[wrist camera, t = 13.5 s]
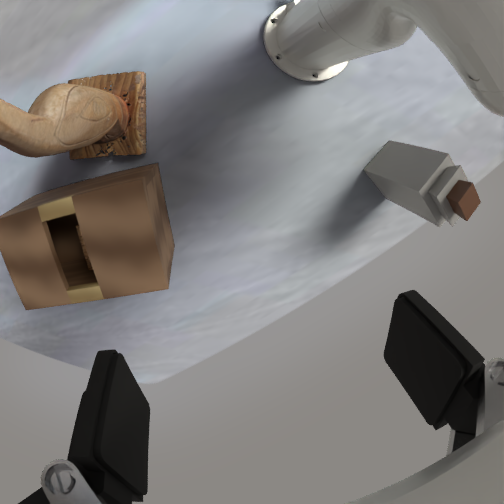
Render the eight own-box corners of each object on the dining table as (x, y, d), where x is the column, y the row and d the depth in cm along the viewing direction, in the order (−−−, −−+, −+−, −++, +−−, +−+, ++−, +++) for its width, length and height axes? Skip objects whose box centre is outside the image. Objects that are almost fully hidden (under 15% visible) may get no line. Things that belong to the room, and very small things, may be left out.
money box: (34, 195, 35) (-9, 222, 24) (158, 162, 37) (142, 179, 26) (57, 267, 40) (25, 310, 29) (174, 245, 42) (168, 288, 32)
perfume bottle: (410, 170, 44) (491, 201, 28) (385, 198, 45) (463, 241, 29) (389, 140, 41) (474, 161, 25) (363, 169, 42) (444, 203, 26)
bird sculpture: (74, 163, 35) (-97, 284, 7) (68, 82, 30) (-124, 78, 2) (149, 151, 37) (32, 273, 9) (145, 67, 31) (17, -36, 3)
